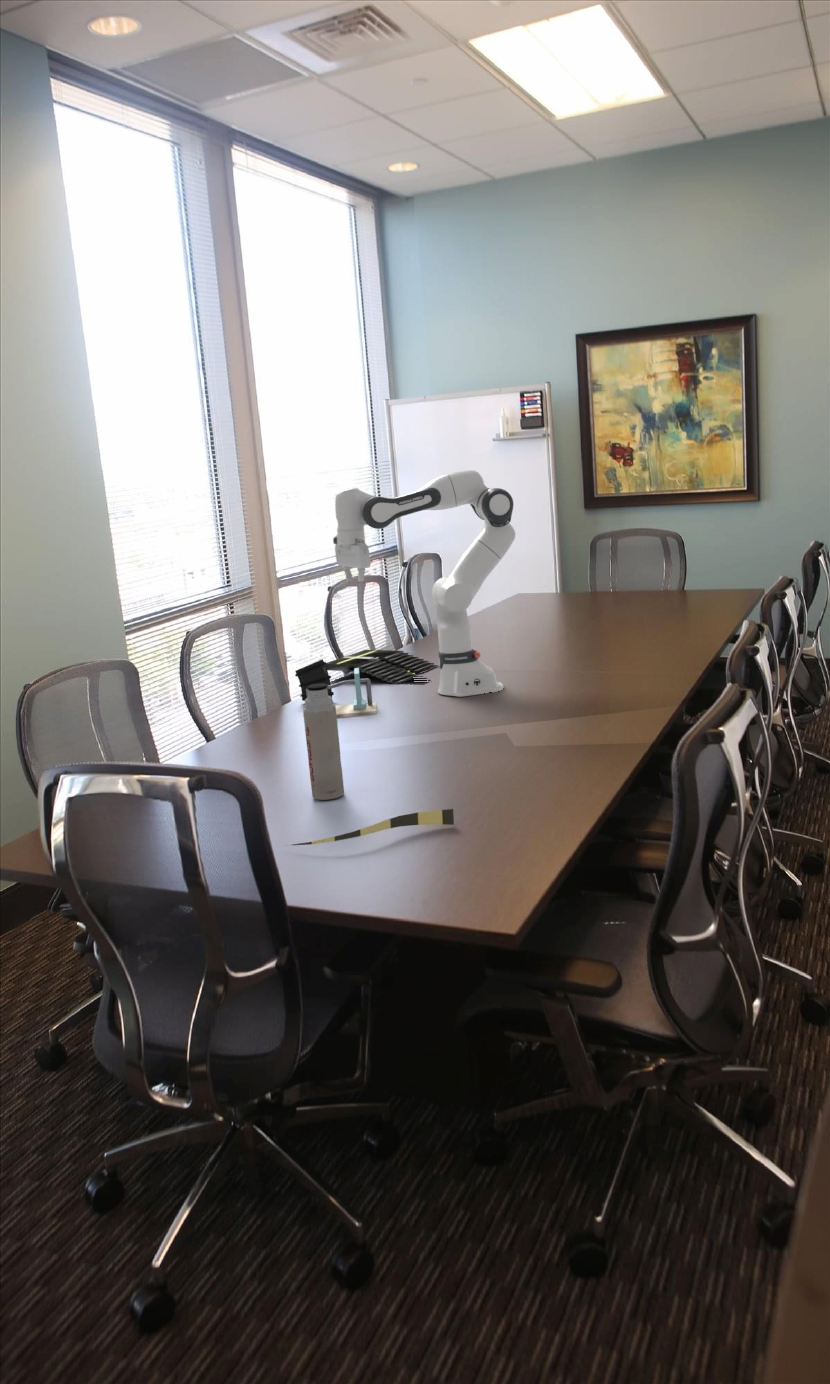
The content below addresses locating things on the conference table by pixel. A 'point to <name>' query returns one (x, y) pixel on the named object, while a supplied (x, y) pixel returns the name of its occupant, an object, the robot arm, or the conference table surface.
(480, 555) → the robot arm
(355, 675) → the light blue tall piece
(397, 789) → the conference table surface
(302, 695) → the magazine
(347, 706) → the board
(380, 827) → the tape
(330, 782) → the thermos bottle
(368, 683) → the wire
